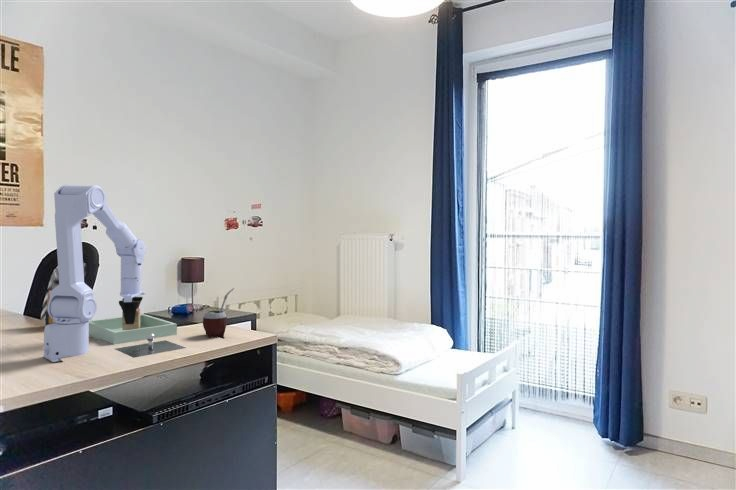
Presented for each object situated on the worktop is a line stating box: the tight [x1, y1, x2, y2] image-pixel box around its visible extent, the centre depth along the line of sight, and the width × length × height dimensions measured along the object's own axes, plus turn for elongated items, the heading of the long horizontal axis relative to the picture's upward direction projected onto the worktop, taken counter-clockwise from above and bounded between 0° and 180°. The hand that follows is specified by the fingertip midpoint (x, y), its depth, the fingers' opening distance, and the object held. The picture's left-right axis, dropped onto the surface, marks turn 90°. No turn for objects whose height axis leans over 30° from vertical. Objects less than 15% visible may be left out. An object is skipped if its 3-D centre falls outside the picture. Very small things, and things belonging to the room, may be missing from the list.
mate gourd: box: [202, 287, 235, 340], centre depth 146 cm, size 8×8×15 cm
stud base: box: [114, 333, 187, 358], centre depth 129 cm, size 14×12×5 cm
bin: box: [89, 314, 178, 345], centre depth 146 cm, size 18×22×4 cm
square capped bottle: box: [121, 308, 141, 330], centre depth 146 cm, size 4×4×8 cm
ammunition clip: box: [45, 289, 56, 326], centre depth 155 cm, size 11×2×12 cm, turn 60°
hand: (131, 322), depth 146 cm, fingers closed on square capped bottle, 4 cm apart
